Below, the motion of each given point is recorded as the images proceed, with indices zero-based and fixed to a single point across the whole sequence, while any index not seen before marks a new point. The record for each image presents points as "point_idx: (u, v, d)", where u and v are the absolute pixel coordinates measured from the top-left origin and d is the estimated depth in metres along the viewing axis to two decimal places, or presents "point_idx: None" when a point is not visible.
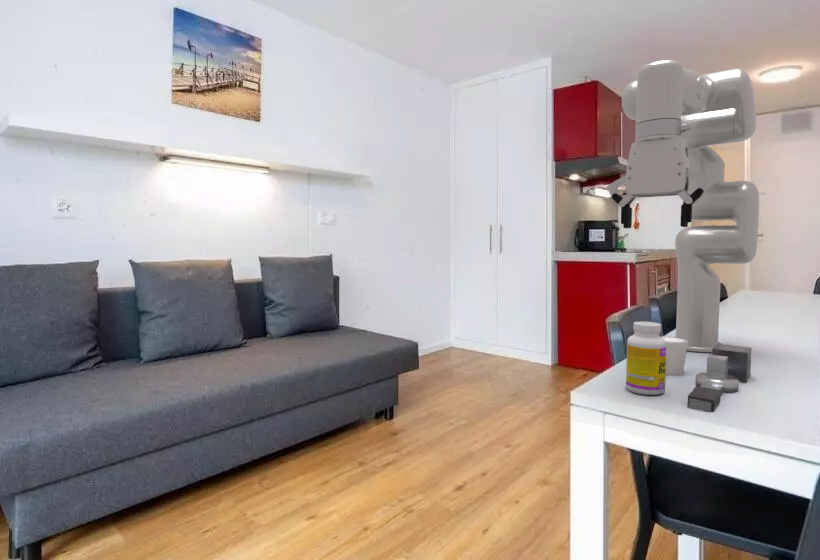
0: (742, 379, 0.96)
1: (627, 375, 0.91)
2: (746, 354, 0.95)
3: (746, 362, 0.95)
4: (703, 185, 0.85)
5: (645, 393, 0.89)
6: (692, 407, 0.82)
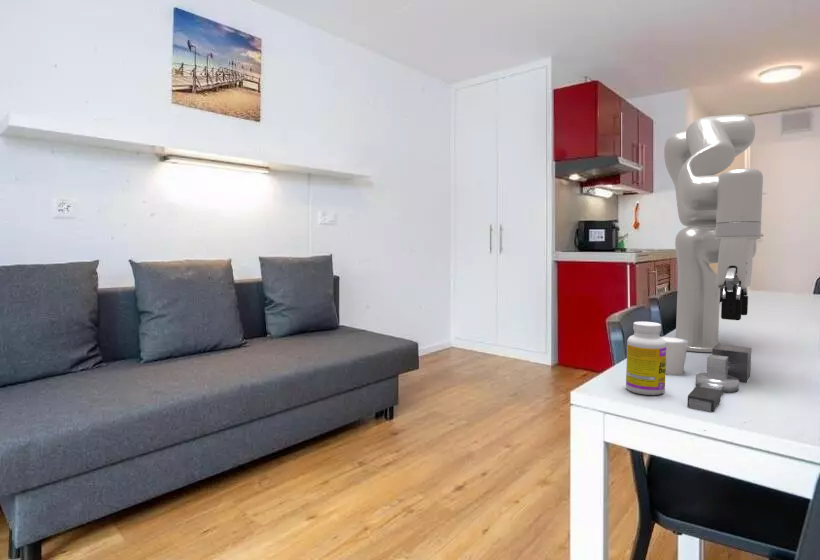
0: (742, 379, 0.96)
1: (627, 375, 0.91)
2: (746, 354, 0.95)
3: (746, 362, 0.95)
4: None
5: (645, 393, 0.89)
6: (692, 407, 0.82)
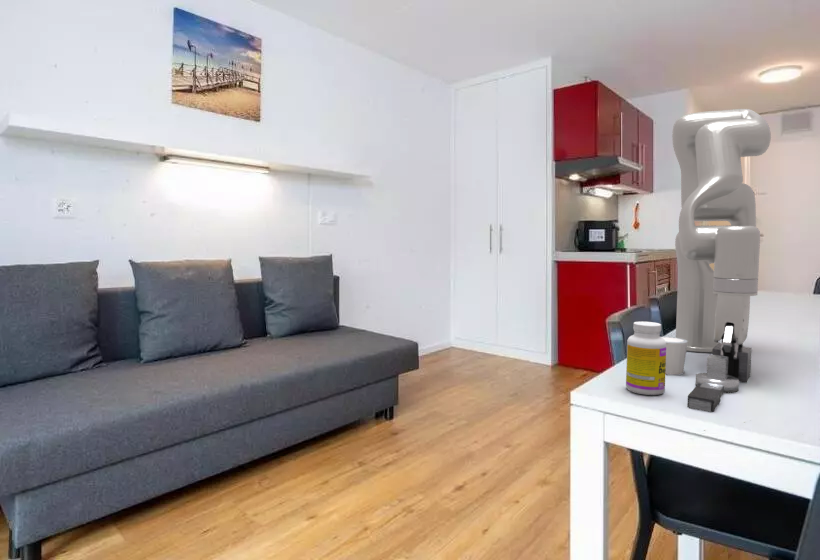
0: (742, 379, 0.96)
1: (627, 375, 0.91)
2: (746, 354, 0.95)
3: (746, 362, 0.95)
4: None
5: (645, 393, 0.89)
6: (692, 407, 0.82)
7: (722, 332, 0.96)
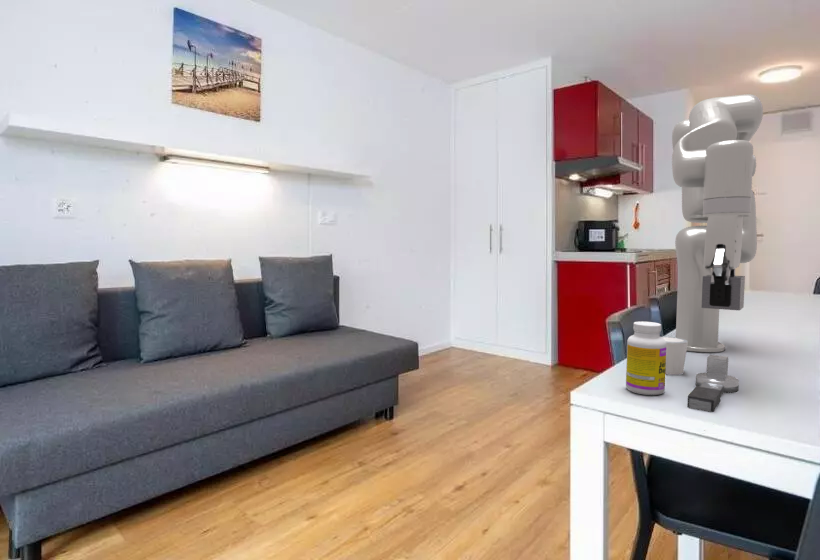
0: (735, 307, 0.88)
1: (627, 375, 0.91)
2: (739, 279, 0.88)
3: (739, 288, 0.88)
4: None
5: (645, 393, 0.89)
6: (692, 407, 0.82)
7: (713, 255, 0.88)
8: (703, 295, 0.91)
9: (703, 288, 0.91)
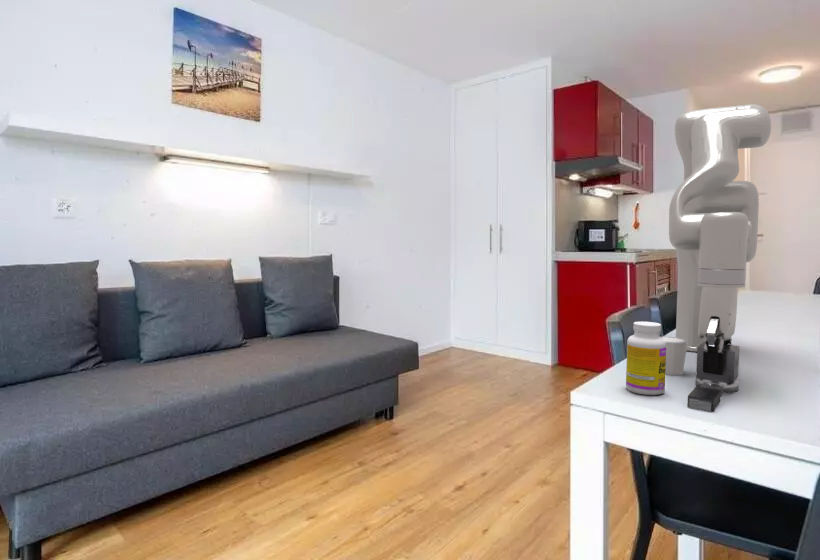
0: (729, 380, 0.89)
1: (627, 375, 0.91)
2: (733, 353, 0.88)
3: (733, 361, 0.88)
4: None
5: (645, 393, 0.89)
6: (692, 407, 0.82)
7: (707, 327, 0.89)
8: (698, 366, 0.92)
9: (698, 359, 0.92)
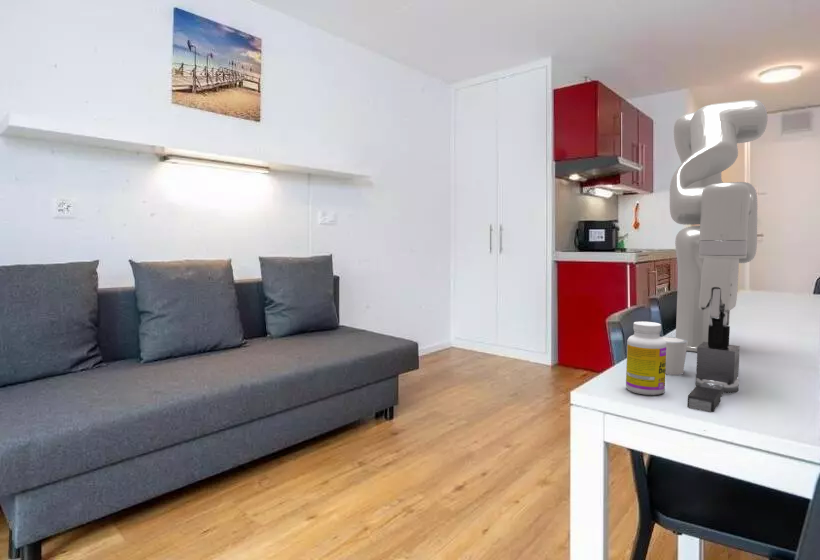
0: (729, 380, 0.89)
1: (627, 375, 0.91)
2: (733, 353, 0.88)
3: (733, 361, 0.88)
4: None
5: (645, 393, 0.89)
6: (692, 407, 0.82)
7: (708, 298, 0.88)
8: (698, 365, 0.92)
9: (698, 359, 0.92)
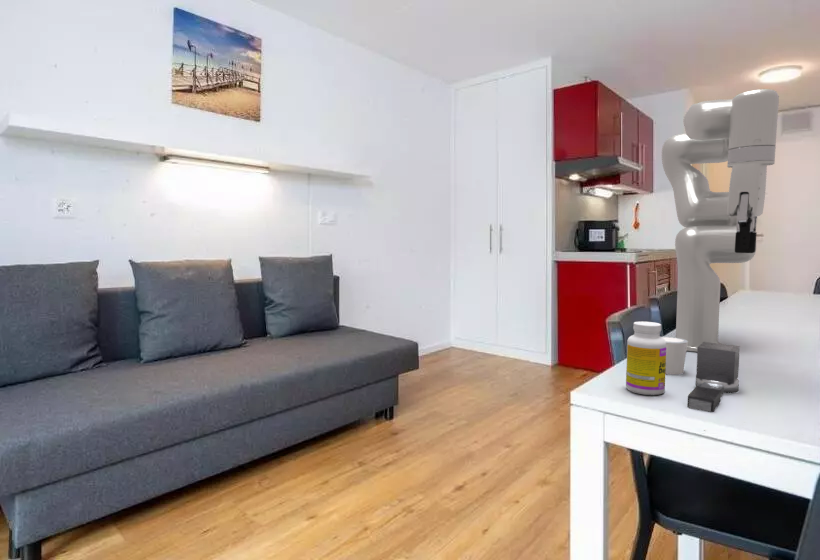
0: (729, 380, 0.89)
1: (627, 375, 0.91)
2: (733, 353, 0.88)
3: (733, 361, 0.88)
4: None
5: (645, 393, 0.89)
6: (692, 407, 0.82)
7: (736, 203, 0.92)
8: (698, 366, 0.92)
9: (698, 359, 0.92)
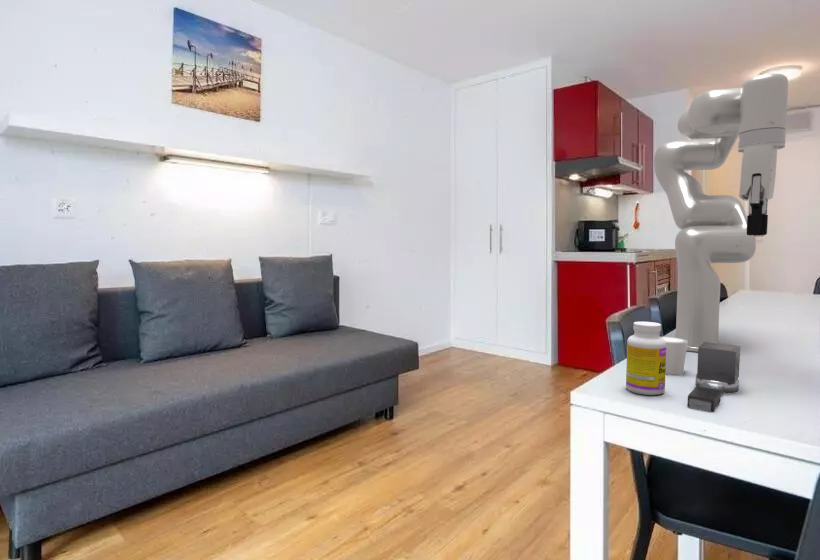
0: (730, 380, 0.89)
1: (627, 375, 0.91)
2: (734, 353, 0.88)
3: (734, 362, 0.88)
4: None
5: (645, 393, 0.89)
6: (692, 407, 0.82)
7: (749, 185, 0.93)
8: (699, 366, 0.92)
9: (699, 359, 0.92)
